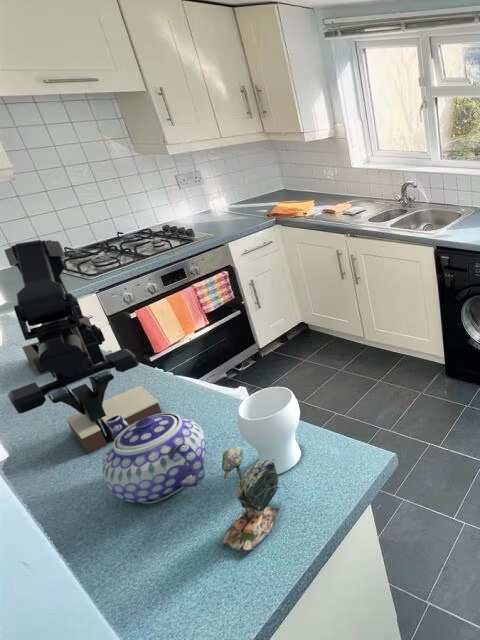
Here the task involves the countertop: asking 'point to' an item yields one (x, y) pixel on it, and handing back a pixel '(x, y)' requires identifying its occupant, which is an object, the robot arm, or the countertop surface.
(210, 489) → the countertop surface
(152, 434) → the teapot
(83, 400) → the black handle
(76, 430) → the cream-topped brown block
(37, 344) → the knife block
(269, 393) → the cup
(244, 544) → the bird figurine
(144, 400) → the cake loaf
